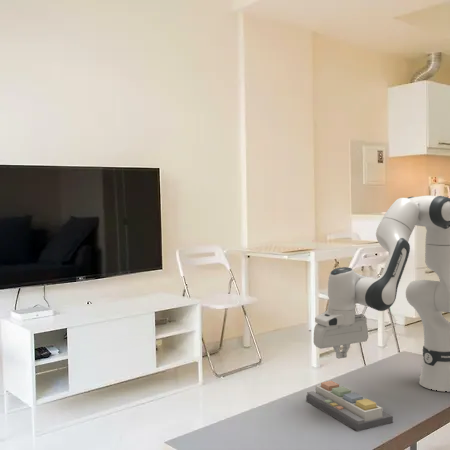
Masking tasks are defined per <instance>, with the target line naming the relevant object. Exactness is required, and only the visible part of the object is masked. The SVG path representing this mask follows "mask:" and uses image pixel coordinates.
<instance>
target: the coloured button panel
mask: <svg viewBox="0 0 450 450" xmlns="http://www.w3.org/2000/svg"><path fill="white" fill-rule="evenodd" d="M339 387H341V386H340V385H339ZM351 393H353V392H352V391H351ZM363 399H365V398H364V397H363ZM305 400H306V402H307V403H309V404H311V405H312V406H314V407H315V408H318V409H319V410H321V411H323V412H324V413H326V414H327V415H329V416H330V417H332V418H334V419H335V420H337V421H339V422H341V423H342V424H345V426H347V427H350V428H351V429H353V430H354V431H356V432H360V431H363V430H368V429H372V428H376V427H380V426H384V425H388V424H392V423H393V422H394V421H393V415H391V414H389V413H387V412H385V411H383V407H381V406H379V405H377V404H376V408H375V409H370V410H366V411H365V410H363V409H361V408H359V407H357V406H356V403H353V404H352V403H350V402H348V401H346V400H344V397H338V396H337V395H335V394H333V393H332V391H327V390H325V389H323V388H322V387H321V384H318V385H315V391H308V392H307V394H306V399H305Z"/></svg>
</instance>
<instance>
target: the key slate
mask: <svg viewBox="0 0 450 450" xmlns="http://www.w3.org/2000/svg"><path fill="white" fill-rule="evenodd" d="M363 398H364V396H363V395H361V394H359V393H357V392H355V391H353V392H352V393H348V394H344V400H346V401H348V402H350V403H352V404H353V403H356V401H358V400H362V399H363Z"/></svg>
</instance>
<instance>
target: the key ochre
mask: <svg viewBox="0 0 450 450" xmlns="http://www.w3.org/2000/svg"><path fill="white" fill-rule="evenodd" d="M376 405H377V403H376V402H375V401H374V400H372V399H368V398H364V399H362V400H358V401H356V406H357V407H359V408H361V409H363V410H365V411H366V410H370V409H375V408H376Z"/></svg>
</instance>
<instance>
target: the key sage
mask: <svg viewBox="0 0 450 450" xmlns="http://www.w3.org/2000/svg"><path fill="white" fill-rule="evenodd" d="M351 392H352V390H351V389H350V388H347V387H345V386H344V385H343V386H340V387H336V388H332V393H333V394H335V395H337V396H338V397H344V394H348V393H351Z"/></svg>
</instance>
